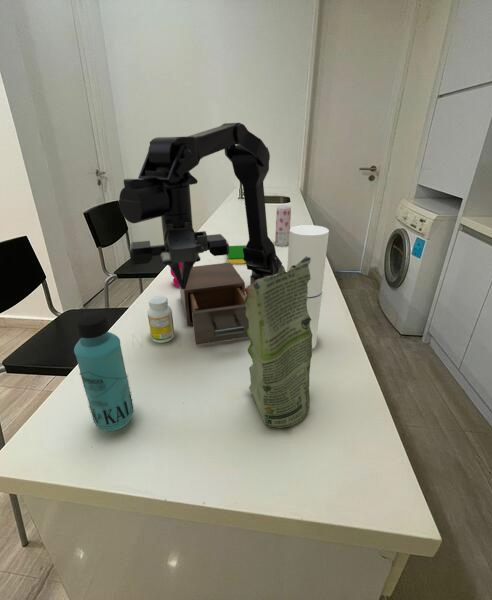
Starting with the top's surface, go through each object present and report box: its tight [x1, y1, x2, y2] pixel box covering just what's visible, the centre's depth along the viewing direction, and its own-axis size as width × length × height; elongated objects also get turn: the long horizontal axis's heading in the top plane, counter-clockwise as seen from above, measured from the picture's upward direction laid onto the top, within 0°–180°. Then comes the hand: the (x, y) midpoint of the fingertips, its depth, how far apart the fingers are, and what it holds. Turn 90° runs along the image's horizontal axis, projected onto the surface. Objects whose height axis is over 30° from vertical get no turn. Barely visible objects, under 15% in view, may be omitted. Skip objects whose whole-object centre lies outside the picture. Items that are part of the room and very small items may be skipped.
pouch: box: [244, 256, 313, 429], centre depth 51 cm, size 11×12×25 cm
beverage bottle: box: [73, 311, 135, 432], centre depth 49 cm, size 6×7×20 cm
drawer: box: [189, 287, 250, 346], centre depth 75 cm, size 18×13×8 cm
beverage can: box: [274, 205, 292, 247], centre depth 132 cm, size 6×6×15 cm
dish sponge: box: [227, 244, 246, 265], centre depth 122 cm, size 7×14×2 cm, turn 0°
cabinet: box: [179, 262, 246, 327], centre depth 86 cm, size 15×15×10 cm
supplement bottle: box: [147, 295, 175, 344], centre depth 74 cm, size 5×5×10 cm
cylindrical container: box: [286, 224, 330, 350], centre depth 67 cm, size 7×7×25 cm
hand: (183, 288), depth 68 cm, fingers closed
